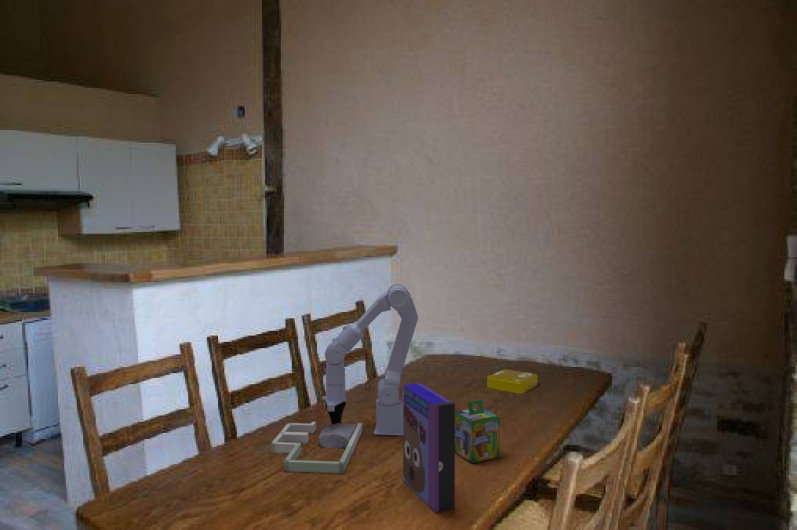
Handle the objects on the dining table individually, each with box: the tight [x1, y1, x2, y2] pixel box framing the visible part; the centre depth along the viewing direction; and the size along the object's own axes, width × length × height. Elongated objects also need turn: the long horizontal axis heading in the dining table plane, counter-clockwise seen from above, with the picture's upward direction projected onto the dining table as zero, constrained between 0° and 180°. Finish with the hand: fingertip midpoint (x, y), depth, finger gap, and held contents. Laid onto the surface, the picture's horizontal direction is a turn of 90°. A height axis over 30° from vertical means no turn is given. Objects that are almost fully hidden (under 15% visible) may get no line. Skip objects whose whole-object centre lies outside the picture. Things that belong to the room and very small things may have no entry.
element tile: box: [486, 369, 538, 394], centre depth 228 cm, size 15×15×5 cm
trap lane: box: [270, 421, 363, 474], centre depth 168 cm, size 22×30×2 cm
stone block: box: [318, 422, 357, 449], centre depth 174 cm, size 12×5×10 cm
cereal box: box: [402, 383, 456, 514], centre depth 140 cm, size 17×5×24 cm, turn 23°
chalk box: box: [455, 399, 501, 464], centre depth 163 cm, size 9×9×15 cm
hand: (336, 427), depth 181 cm, fingers closed
